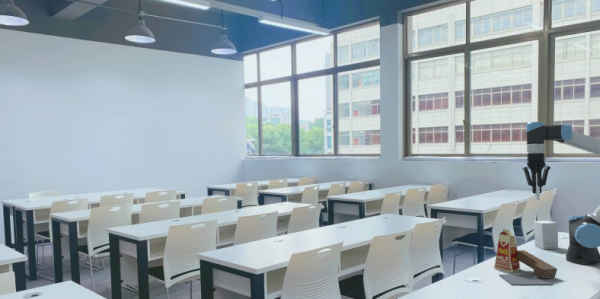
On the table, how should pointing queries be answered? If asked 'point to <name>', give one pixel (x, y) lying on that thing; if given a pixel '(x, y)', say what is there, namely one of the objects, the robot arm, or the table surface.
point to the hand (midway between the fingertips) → (537, 199)
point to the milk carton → (507, 253)
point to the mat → (524, 279)
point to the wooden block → (536, 265)
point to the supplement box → (546, 234)
